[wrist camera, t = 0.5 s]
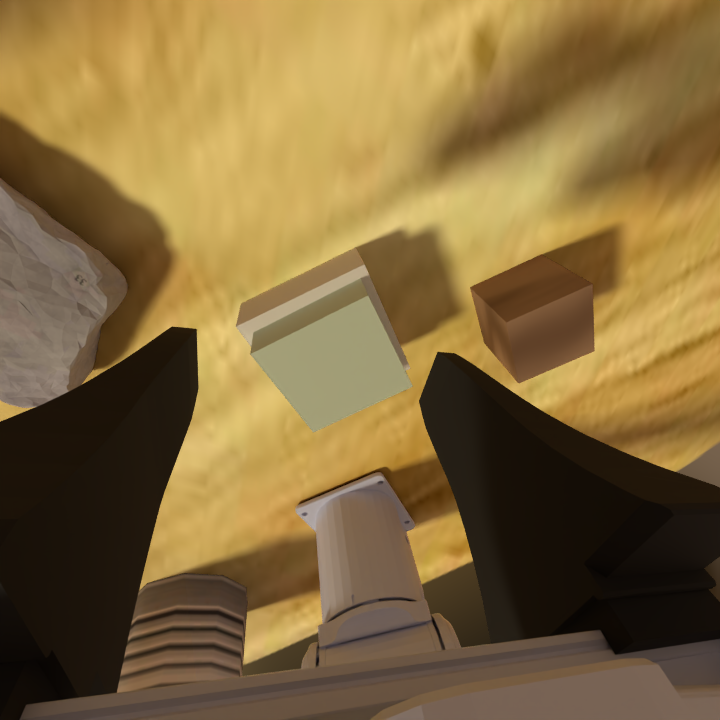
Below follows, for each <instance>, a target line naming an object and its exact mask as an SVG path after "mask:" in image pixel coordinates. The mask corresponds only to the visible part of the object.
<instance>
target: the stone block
mask: <svg viewBox="0 0 720 720" xmlns="http://www.w3.org/2000/svg"><path fill="white" fill-rule="evenodd" d="M127 290H128V284H127V283H126V279H125V277H124V276H123V274H122V273H121V271H120V270H119V269H118V268H117V267H116V266H115V265H113V264H112V263H111V262H110V261H109V260H108V259H107V258H106V257H105V256H104V255H103V254H102V253H101V252H100V251H99V250H97V249H95V248H93V247H91V246H90V245H89V244H87V243H86V242H85V241H83V240H82V239H81V238H80V237H79V236H77V235H76V234H75V233H73V232H72V231H70V230H68V229H67V228H65V227H64V226H62V225H61V224H60V223H58V222H57V221H55V220H54V219H53V218H51V217H50V216H49V215H48V213H47V212H46V211H45V210H44V209H42V208H40V207H39V206H38V205H37V204H36V203H35V202H34V201H31V200H29V199H28V198H27V197H25V196H24V195H22V194H21V193H20V192H18V191H17V190H15V189H14V188H12V187H11V186H10V185H9V184H7V183H6V182H5V181H4V180H2V179H1V178H0V400H1V401H3V402H5V403H7V404H9V405H13V406H18V407H22V408H30V407H37V406H40V405H42V404H44V403H46V402H48V401H50V400H52V399H54V398H56V397H59V396H61V395H63V394H65V393H67V392H69V391H71V390H73V389H75V388H77V387H78V386H80V385H81V384H82V383H83V382H84V380H85V379H86V378H87V376H88V375H89V374H90V373H91V372H92V369H93V366H94V363H95V359H96V352H97V349H98V341H99V338H100V328H101V325H102V324H103V323H104V322H105V321H106V320H107V318H108V317H109V316H110V315H111V314H113V312H114V311H115V310H116V309H117V307H118V306H119V305H120V303H121V302H122V301H123V299H124V298H125V296H126V294H127Z"/></svg>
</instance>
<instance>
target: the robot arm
mask: <svg viewBox="0 0 720 720" xmlns="http://www.w3.org/2000/svg"><path fill="white" fill-rule="evenodd" d="M197 392H198V360H197V329H192V328H181V327H171V328H169V329H168V330H166V331H165V332H163V333H162V334H161V335H159V336H158V337H156V338H155V339H154V340H152V341H151V342H149V343H148V344H146V345H145V346H144V347H142V348H141V349H139V350H138V351H136V352H135V353H133V354H132V355H130V356H129V357H127V358H126V359H124V360H123V361H121V362H120V363H118V364H116V365H115V366H113V367H111V368H110V369H108V370H106V371H104V372H103V373H101V374H99V375H98V376H96V377H94V378H93V379H91V380H89V381H88V382H86V383H84V384H82V385H80V386H78V387H77V388H75V389H73V390H71V391H69V392H67V393H65V394H63V395H61V396H59V397H56V398H54V399H52V400H50V401H48V402H46V403H44V404H42V405H40V406H37V407H35V408H33V409H30V410H28V411H25V412H23V413H21V414H18V415H16V416H13V417H11V418H8V419H6V420H3V421H1V422H0V720H720V602H719V601H718V600H717V599H716V597H715V596H714V595H713V594H712V593H711V592H710V591H709V589H711V588H713V587H715V586H716V583H715V580H714V579H713V578H712V577H711V576H710V575H709V574H708V572H707V571H706V570H705V569H704V568H705V567H706V566H708V565H709V564H710V563H712V562H713V561H714V560H715V559H717V558H718V557H720V488H719V487H717V486H715V485H712V484H709V483H706V482H703V481H700V480H697V479H694V478H692V477H689V476H686V475H683V474H680V473H677V472H674V471H671V470H668V469H665V468H662V467H660V466H657V465H654V464H652V463H649V462H647V461H644V460H642V459H639V458H637V457H634V456H632V455H629V454H627V453H624V452H622V451H620V450H617V449H615V448H613V447H611V446H608V445H606V444H604V443H602V442H600V441H598V440H596V439H594V438H591V437H589V436H587V435H585V434H583V433H581V432H579V431H577V430H575V429H573V428H571V427H570V426H568V425H566V424H564V423H562V422H561V421H559V420H557V419H555V418H553V417H551V416H550V415H548V414H546V413H545V412H543V411H541V410H540V409H538V408H536V407H535V406H533V405H532V404H530V403H529V402H527V401H525V400H524V399H522V398H521V397H519V396H518V395H516V394H515V393H513V392H512V391H510V390H509V389H507V388H506V387H505V386H503V385H502V384H500V383H499V382H497V381H496V380H495V379H493V378H492V377H490V376H489V375H487V374H486V373H485V372H483V371H482V370H480V369H479V368H477V367H476V366H475V365H473V364H472V363H470V362H469V361H467V360H465V359H464V358H462V357H460V356H459V355H457V354H455V353H444V352H437V355H436V358H435V360H434V363H433V366H432V368H431V371H430V373H429V376H428V379H427V381H426V384H425V387H424V389H423V392H422V395H421V397H420V400H419V403H420V407H421V411H422V416H423V419H424V423H425V426H426V429H427V432H428V434H429V437H430V439H431V442H432V444H433V446H434V449H435V451H436V453H437V456H438V458H439V460H440V463H441V465H442V467H443V470H444V472H445V474H446V477H447V479H448V481H449V484H450V486H451V489H452V491H453V494H454V496H455V499H456V502H457V505H458V509H459V512H460V515H461V518H462V522H463V525H464V528H465V532H466V536H467V539H468V543H469V547H470V550H471V554H472V558H473V561H474V566H475V570H476V574H477V578H478V582H479V587H480V591H481V595H482V600H483V605H484V610H485V615H486V620H487V625H488V630H489V635H490V640H491V644H487V645H479V646H471V647H464V648H461V646H460V644H459V641H458V639H457V636H456V634H455V631H454V629H453V627H452V625H451V624H450V623H449V622H448V621H447V620H446V619H444V618H443V617H442V615H440V614H439V613H436V614H432V615H430V611H429V608H428V604H427V601H426V600H424V593H423V588H422V585H421V581H420V578H419V574H418V571H417V567H416V564H415V560H414V557H413V553H412V550H411V546H410V543H409V539H408V536H407V532H406V531H409V530H411V529H413V528H414V527H415V523H414V521H413V519H412V518H411V516H410V515H409V513H408V512H407V510H406V509H405V507H404V506H403V504H402V503H401V501H400V500H399V498H398V497H397V495H396V493H395V492H394V490H393V489H392V487H391V486H390V484H389V483H388V481H387V480H386V478H385V477H384V475H383V474H382V473H380V472H376V473H373V474H371V475H369V476H366V477H364V478H361V479H359V480H357V481H354V482H352V483H349V484H347V485H345V486H342V487H340V488H337V489H335V490H333V491H330V492H328V493H325V494H323V495H321V496H318V497H316V498H314V499H311V500H309V501H306V502H304V503H302V504H299V505H297V506H296V513H297V514H298V515H299V516H300V517H301V518H302V519H303V520H304V521H305V522H306V523H307V524H308V525H309V526H310V527H311V528H312V529H313V530H314V531H315V532H316V539H317V553H318V567H319V580H320V594H321V608H322V621H323V624H321V625H319V626H318V635H319V642H316V643H312V644H311V645H310V646H309V648H308V651H307V653H306V655H305V656H304V658H303V661H302V667H301V669H295V670H287V671H281V672H272V673H265V674H257V675H249V676H241V677H234V678H226V679H218V680H211V681H203V682H195V683H188V684H180V685H172V686H165V687H157V688H149V689H142V690H134V691H126V692H119V693H117V689H118V685H119V680H120V675H121V670H122V666H123V661H124V656H125V651H126V647H127V642H128V637H129V632H130V628H131V624H132V619H133V615H134V610H135V606H136V602H137V597H138V593H139V588H140V584H141V580H142V576H143V571H144V567H145V563H146V559H147V555H148V551H149V547H150V543H151V539H152V535H153V531H154V527H155V523H156V519H157V515H158V512H159V508H160V504H161V501H162V498H163V495H164V492H165V489H166V486H167V483H168V481H169V478H170V475H171V473H172V470H173V467H174V465H175V462H176V459H177V457H178V454H179V452H180V449H181V446H182V444H183V441H184V438H185V435H186V433H187V430H188V427H189V425H190V422H191V419H192V415H193V411H194V406H195V402H196V397H197Z"/></svg>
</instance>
